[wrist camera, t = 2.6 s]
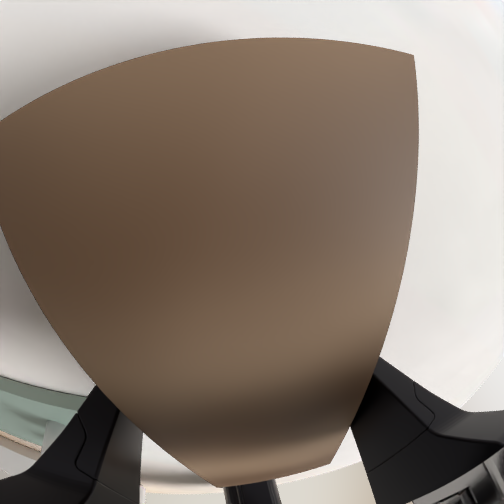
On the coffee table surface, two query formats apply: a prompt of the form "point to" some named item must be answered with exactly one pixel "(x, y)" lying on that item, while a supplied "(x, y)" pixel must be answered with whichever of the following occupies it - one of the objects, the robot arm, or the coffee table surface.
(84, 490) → the robot arm
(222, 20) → the coffee table surface
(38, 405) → the peg base
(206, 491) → the coffee table surface
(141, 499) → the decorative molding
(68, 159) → the walnut shelf board
